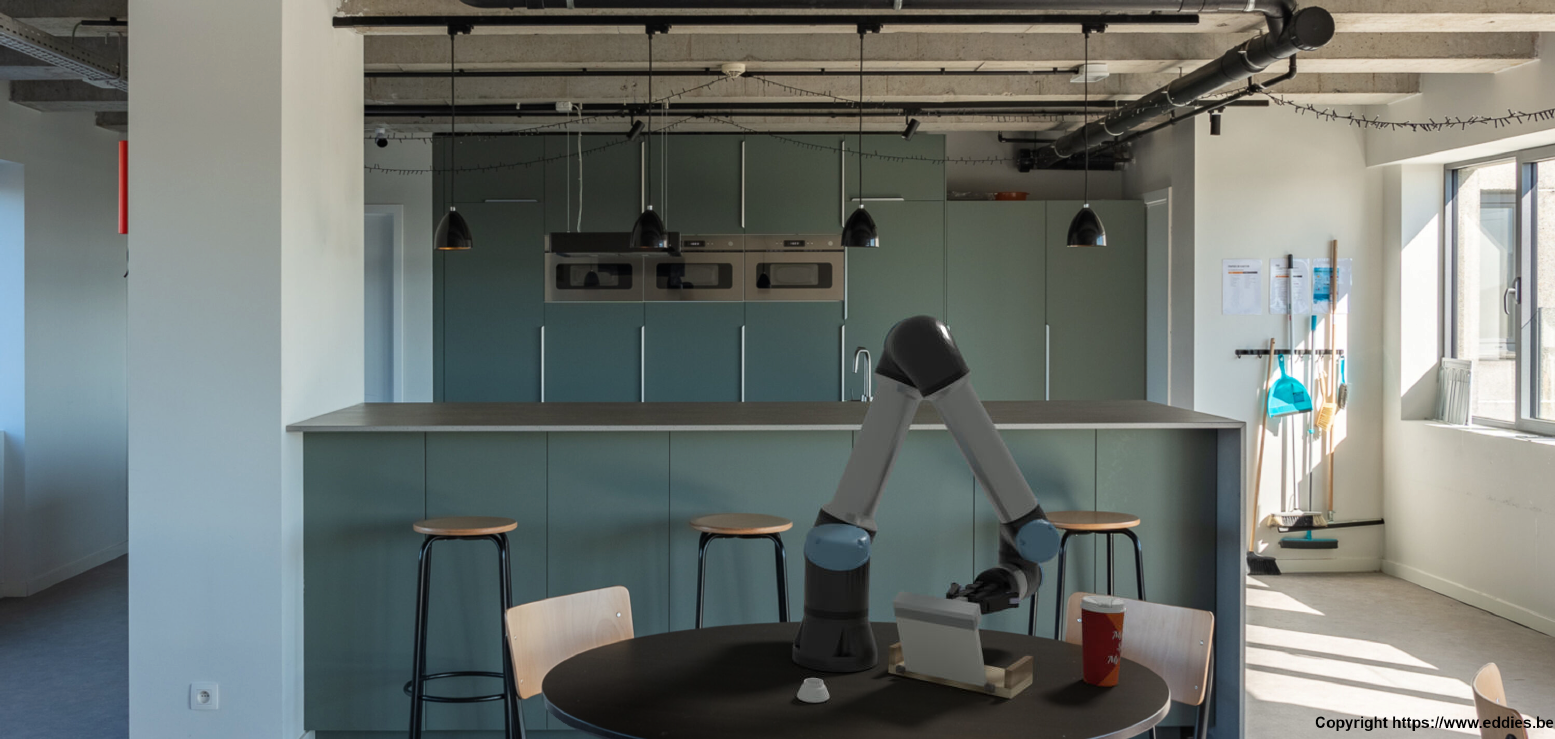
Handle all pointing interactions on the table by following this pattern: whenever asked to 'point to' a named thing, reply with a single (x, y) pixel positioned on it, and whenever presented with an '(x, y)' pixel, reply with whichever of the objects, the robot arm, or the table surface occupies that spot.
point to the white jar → (813, 691)
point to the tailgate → (940, 637)
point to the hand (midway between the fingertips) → (947, 612)
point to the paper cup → (1102, 639)
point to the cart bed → (997, 684)
